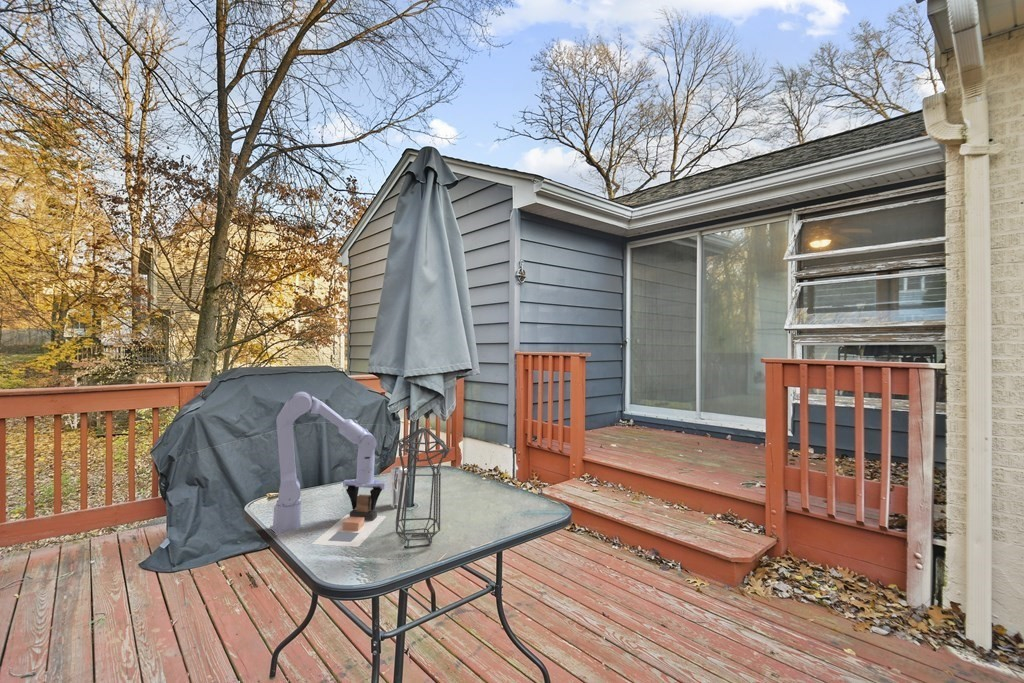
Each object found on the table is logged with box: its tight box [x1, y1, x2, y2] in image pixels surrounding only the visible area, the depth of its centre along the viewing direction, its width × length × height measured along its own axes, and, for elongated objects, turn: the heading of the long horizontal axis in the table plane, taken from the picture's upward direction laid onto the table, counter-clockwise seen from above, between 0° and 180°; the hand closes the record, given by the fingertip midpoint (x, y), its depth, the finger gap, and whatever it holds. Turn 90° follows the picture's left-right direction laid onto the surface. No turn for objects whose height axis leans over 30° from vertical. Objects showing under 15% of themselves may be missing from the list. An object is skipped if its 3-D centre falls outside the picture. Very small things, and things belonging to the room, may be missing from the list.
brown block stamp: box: [349, 494, 378, 521], centre depth 156 cm, size 4×8×8 cm, turn 87°
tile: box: [343, 517, 364, 531], centre depth 148 cm, size 5×5×2 cm
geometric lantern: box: [395, 427, 452, 549], centre depth 143 cm, size 16×16×35 cm
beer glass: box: [389, 465, 407, 509], centre depth 171 cm, size 7×7×15 cm
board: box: [311, 513, 387, 548], centre depth 147 cm, size 26×14×1 cm, turn 177°
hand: (363, 508), depth 156 cm, fingers open, 6 cm apart
